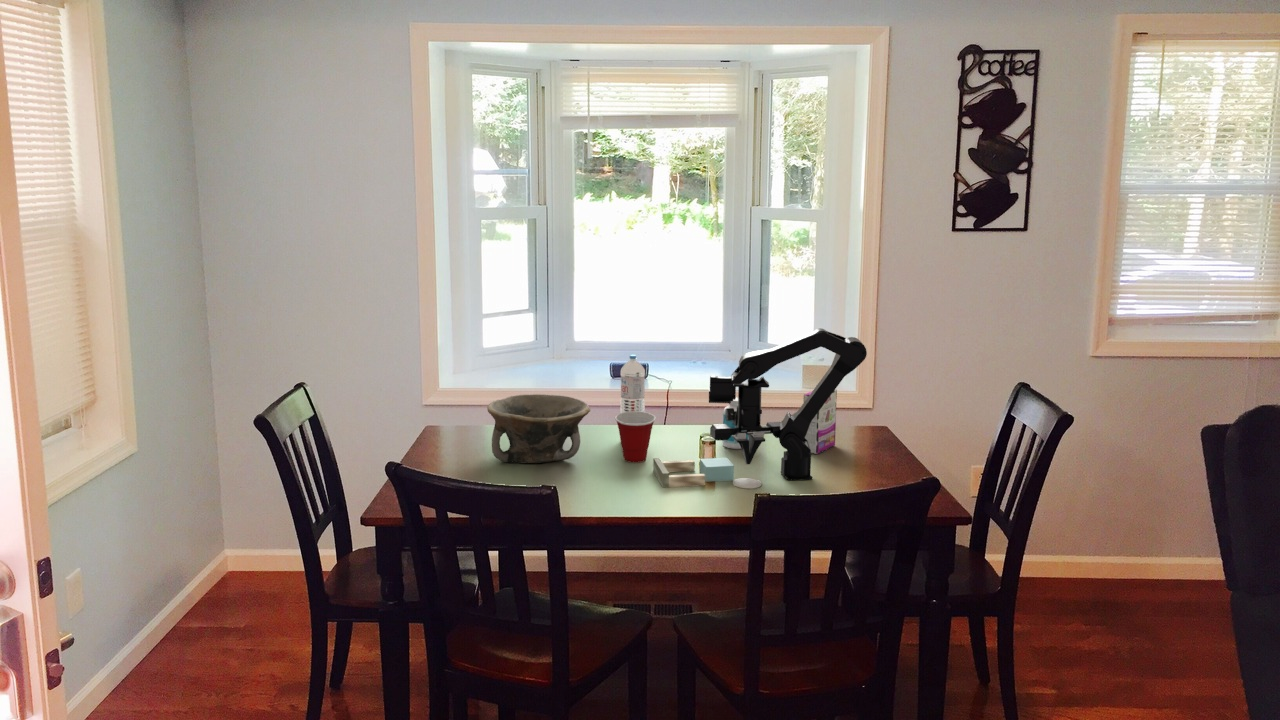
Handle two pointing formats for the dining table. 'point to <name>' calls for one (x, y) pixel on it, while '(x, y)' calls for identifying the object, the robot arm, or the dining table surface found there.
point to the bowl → (536, 427)
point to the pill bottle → (731, 442)
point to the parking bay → (668, 480)
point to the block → (717, 469)
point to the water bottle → (632, 386)
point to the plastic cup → (635, 434)
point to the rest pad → (746, 483)
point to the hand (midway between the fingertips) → (747, 463)
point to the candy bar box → (823, 426)
